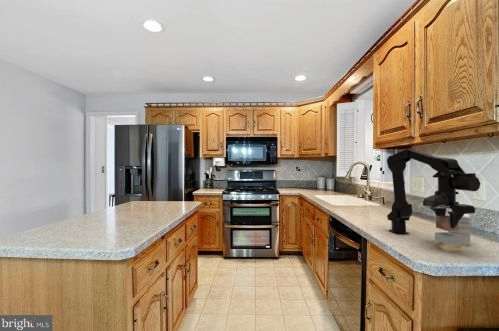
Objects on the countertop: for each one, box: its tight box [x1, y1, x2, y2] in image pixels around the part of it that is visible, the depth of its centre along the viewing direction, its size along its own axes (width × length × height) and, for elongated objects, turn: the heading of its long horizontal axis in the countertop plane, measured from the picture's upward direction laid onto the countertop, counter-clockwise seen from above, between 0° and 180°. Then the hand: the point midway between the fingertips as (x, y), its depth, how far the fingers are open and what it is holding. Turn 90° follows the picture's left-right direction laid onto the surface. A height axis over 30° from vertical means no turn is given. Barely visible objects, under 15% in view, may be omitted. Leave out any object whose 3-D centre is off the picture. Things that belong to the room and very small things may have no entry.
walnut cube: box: [435, 215, 458, 232], centre depth 99 cm, size 5×5×5 cm
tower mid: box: [434, 231, 461, 244], centre depth 99 cm, size 6×6×3 cm
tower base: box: [433, 239, 462, 252], centre depth 99 cm, size 6×6×3 cm
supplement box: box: [447, 213, 472, 247], centre depth 106 cm, size 7×7×13 cm
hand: (446, 226), depth 99 cm, fingers closed on walnut cube, 5 cm apart
